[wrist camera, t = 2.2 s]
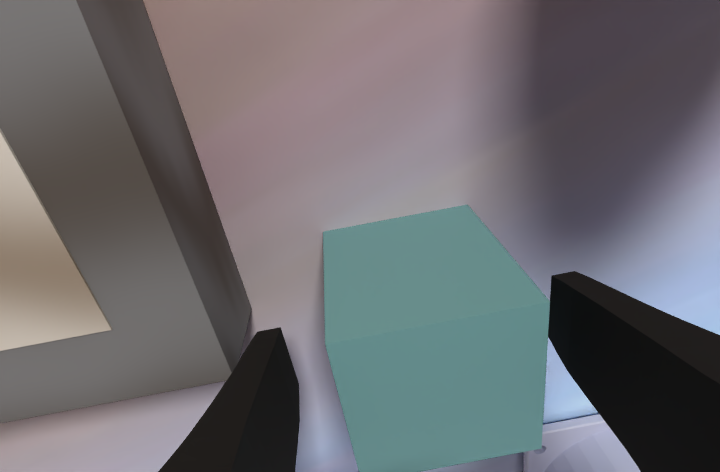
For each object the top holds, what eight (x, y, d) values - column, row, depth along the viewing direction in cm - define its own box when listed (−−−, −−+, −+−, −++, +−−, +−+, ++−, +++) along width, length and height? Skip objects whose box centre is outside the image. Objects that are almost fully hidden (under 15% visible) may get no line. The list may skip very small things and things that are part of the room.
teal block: (472, 319, 14) (541, 448, 10) (348, 342, 14) (362, 482, 10) (467, 203, 12) (549, 302, 8) (323, 231, 12) (325, 343, 8)
